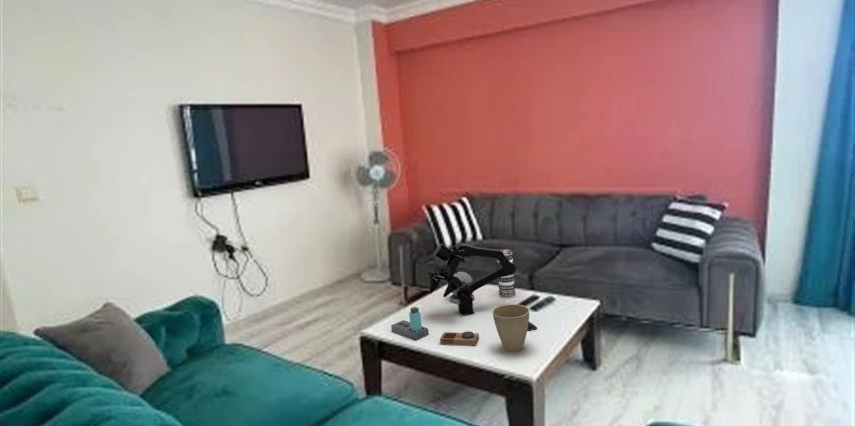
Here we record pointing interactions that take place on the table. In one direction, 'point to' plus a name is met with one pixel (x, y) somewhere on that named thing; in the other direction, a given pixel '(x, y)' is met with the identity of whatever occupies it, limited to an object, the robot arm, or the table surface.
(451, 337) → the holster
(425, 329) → the port block
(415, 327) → the plug
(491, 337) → the table surface
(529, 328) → the phone
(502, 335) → the plant pot
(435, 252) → the robot arm
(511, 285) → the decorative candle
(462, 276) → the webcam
